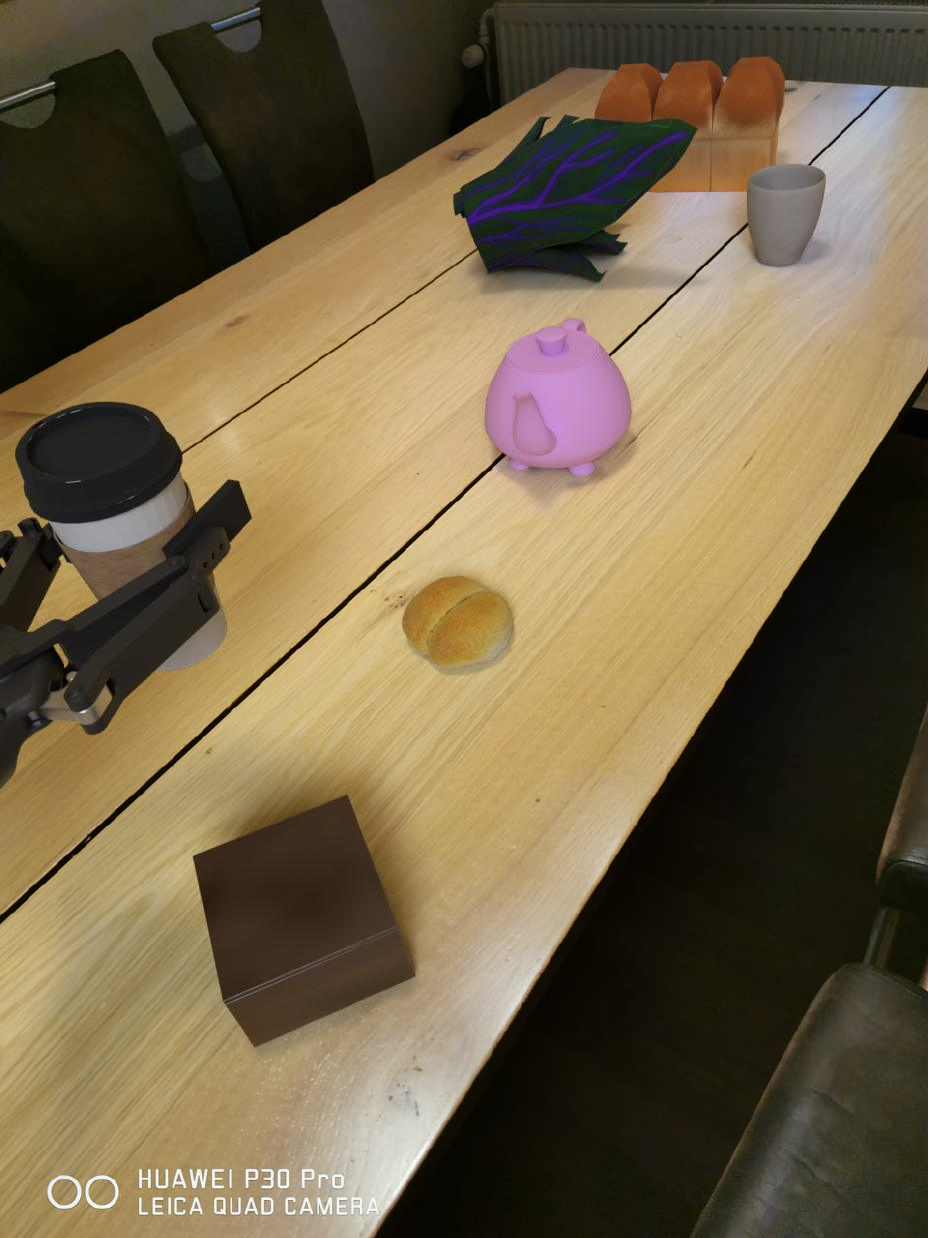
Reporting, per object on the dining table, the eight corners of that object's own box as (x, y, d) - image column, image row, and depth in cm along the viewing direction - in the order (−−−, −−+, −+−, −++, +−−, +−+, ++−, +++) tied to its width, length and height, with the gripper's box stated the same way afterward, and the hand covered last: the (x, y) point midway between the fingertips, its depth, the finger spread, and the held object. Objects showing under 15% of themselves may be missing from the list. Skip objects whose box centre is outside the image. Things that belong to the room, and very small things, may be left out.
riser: (222, 906, 62) (192, 855, 58) (366, 847, 64) (347, 793, 60) (254, 1048, 55) (222, 1001, 51) (415, 976, 57) (397, 926, 53)
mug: (817, 271, 115) (827, 188, 108) (741, 273, 117) (747, 192, 110) (815, 230, 123) (824, 151, 116) (744, 233, 125) (749, 155, 118)
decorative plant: (510, 314, 137) (718, 237, 128) (474, 328, 114) (725, 235, 104) (462, 166, 132) (676, 74, 122) (413, 148, 108) (674, 33, 99)
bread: (595, 193, 142) (591, 83, 132) (614, 162, 150) (611, 57, 140) (769, 191, 134) (779, 74, 124) (779, 158, 142) (789, 47, 132)
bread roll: (462, 688, 73) (455, 652, 70) (390, 635, 78) (380, 600, 76) (538, 630, 76) (533, 594, 74) (464, 583, 82) (457, 547, 79)
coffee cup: (172, 582, 64) (83, 384, 54) (273, 608, 61) (198, 402, 51) (87, 667, 59) (-30, 466, 49) (193, 702, 56) (91, 493, 45)
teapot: (602, 522, 85) (597, 400, 77) (455, 505, 90) (435, 389, 82) (650, 403, 98) (650, 288, 90) (520, 394, 103) (508, 284, 95)
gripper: (-204, 777, 49) (81, 515, 64) (97, 891, 42) (343, 563, 56) (-302, 680, 44) (31, 418, 59) (20, 788, 37) (312, 457, 51)
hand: (183, 489), depth 58 cm, fingers closed on coffee cup, 8 cm apart
